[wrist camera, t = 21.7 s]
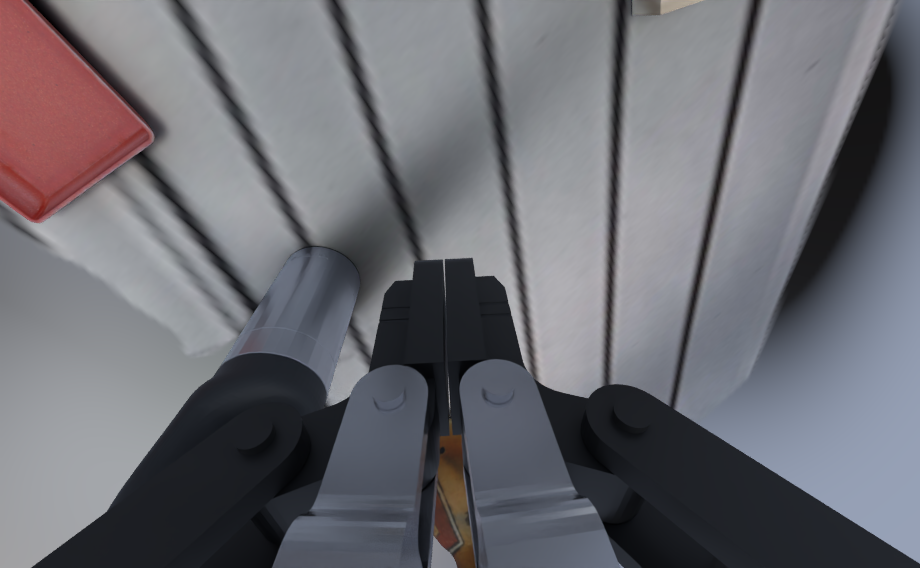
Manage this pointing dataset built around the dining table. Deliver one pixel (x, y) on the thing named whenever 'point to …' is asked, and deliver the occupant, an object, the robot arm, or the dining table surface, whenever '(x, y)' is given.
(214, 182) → the dining table surface
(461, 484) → the ceramic pitcher
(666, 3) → the birch block
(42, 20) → the plant saucer
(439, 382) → the robot arm
